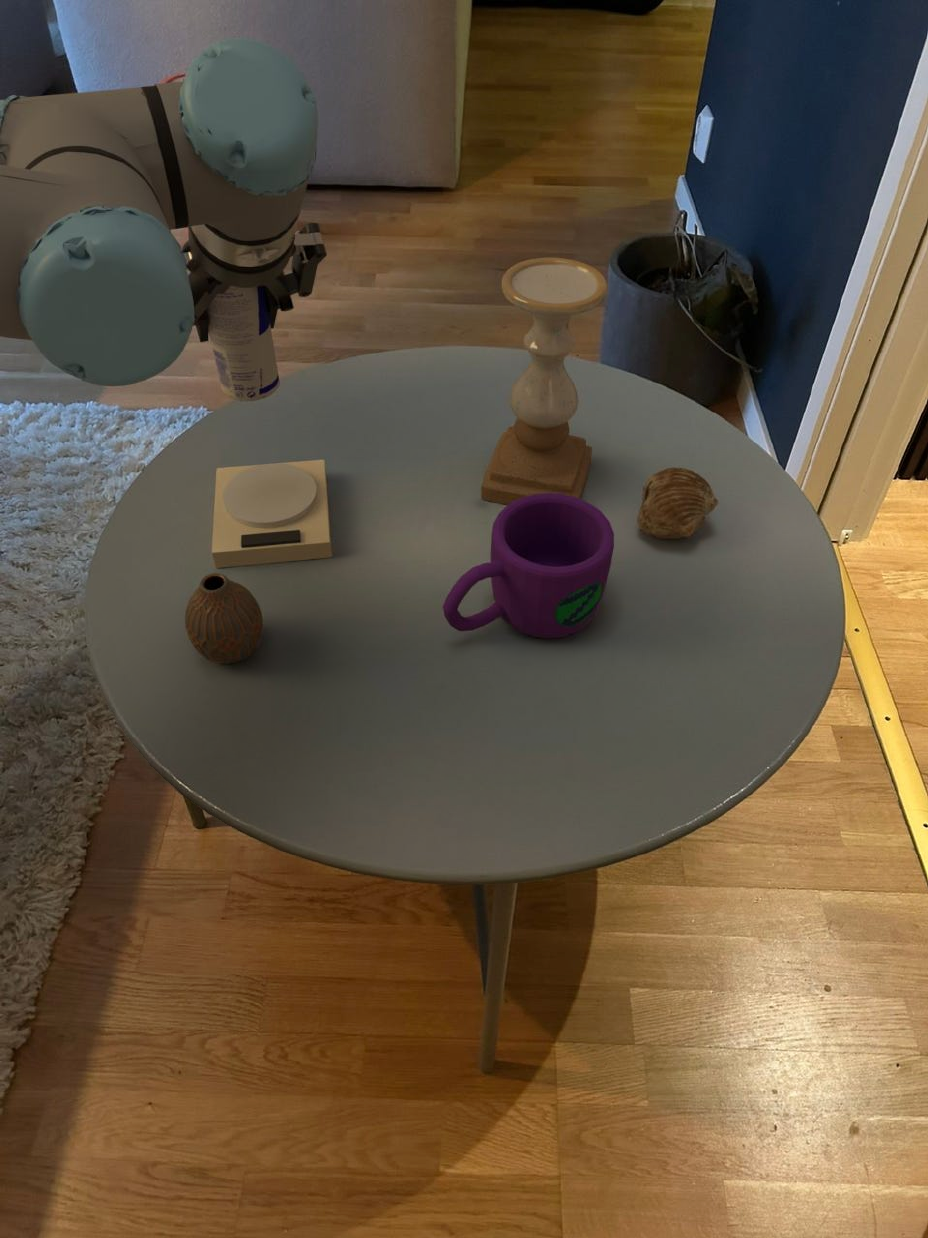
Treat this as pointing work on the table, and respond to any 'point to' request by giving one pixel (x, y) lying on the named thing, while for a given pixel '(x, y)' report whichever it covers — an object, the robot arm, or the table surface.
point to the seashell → (675, 503)
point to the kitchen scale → (271, 514)
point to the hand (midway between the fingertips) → (233, 321)
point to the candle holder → (544, 384)
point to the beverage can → (243, 343)
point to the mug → (541, 567)
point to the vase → (223, 620)
